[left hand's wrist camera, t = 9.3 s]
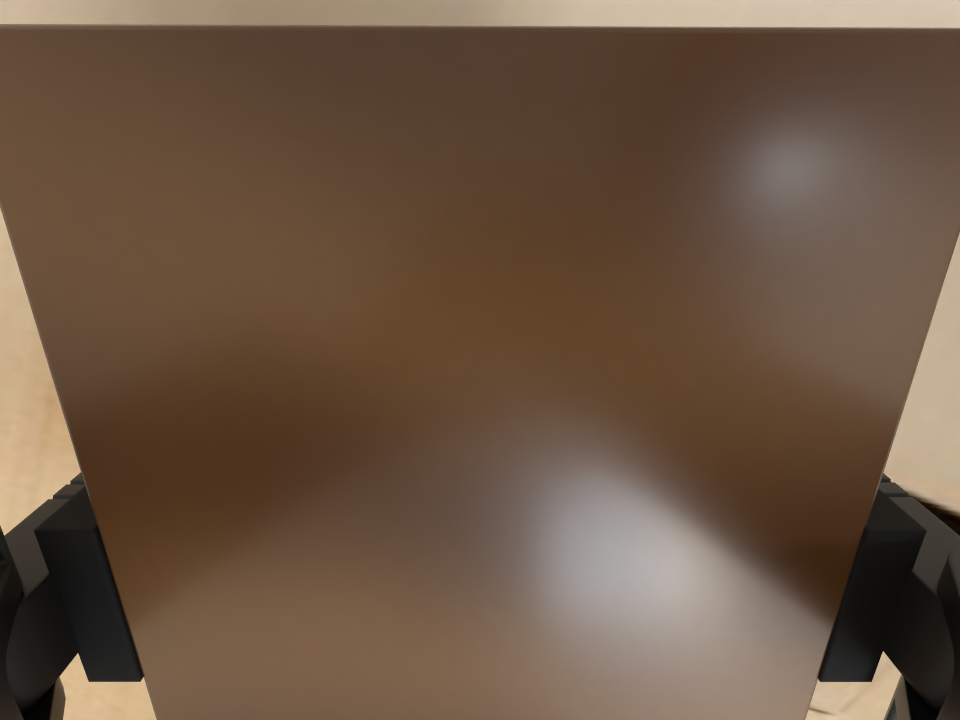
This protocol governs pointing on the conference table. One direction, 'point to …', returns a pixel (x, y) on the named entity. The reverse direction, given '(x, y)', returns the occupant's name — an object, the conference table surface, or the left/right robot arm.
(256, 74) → the thick board
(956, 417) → the conference table surface
